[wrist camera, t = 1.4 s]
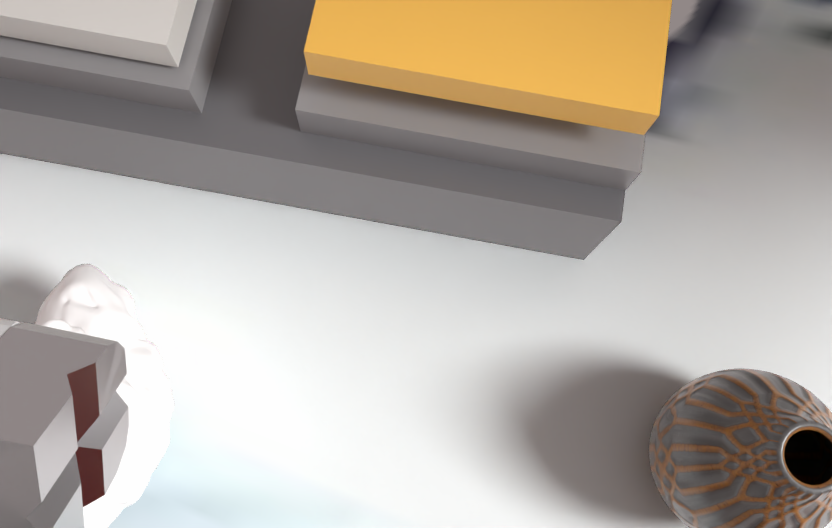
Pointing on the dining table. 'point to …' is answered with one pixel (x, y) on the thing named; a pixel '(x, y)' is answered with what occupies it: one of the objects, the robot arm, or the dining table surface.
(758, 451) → the vase
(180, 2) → the white flat block
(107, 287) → the bust
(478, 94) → the amber switch
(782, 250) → the dining table surface
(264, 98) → the power strip
